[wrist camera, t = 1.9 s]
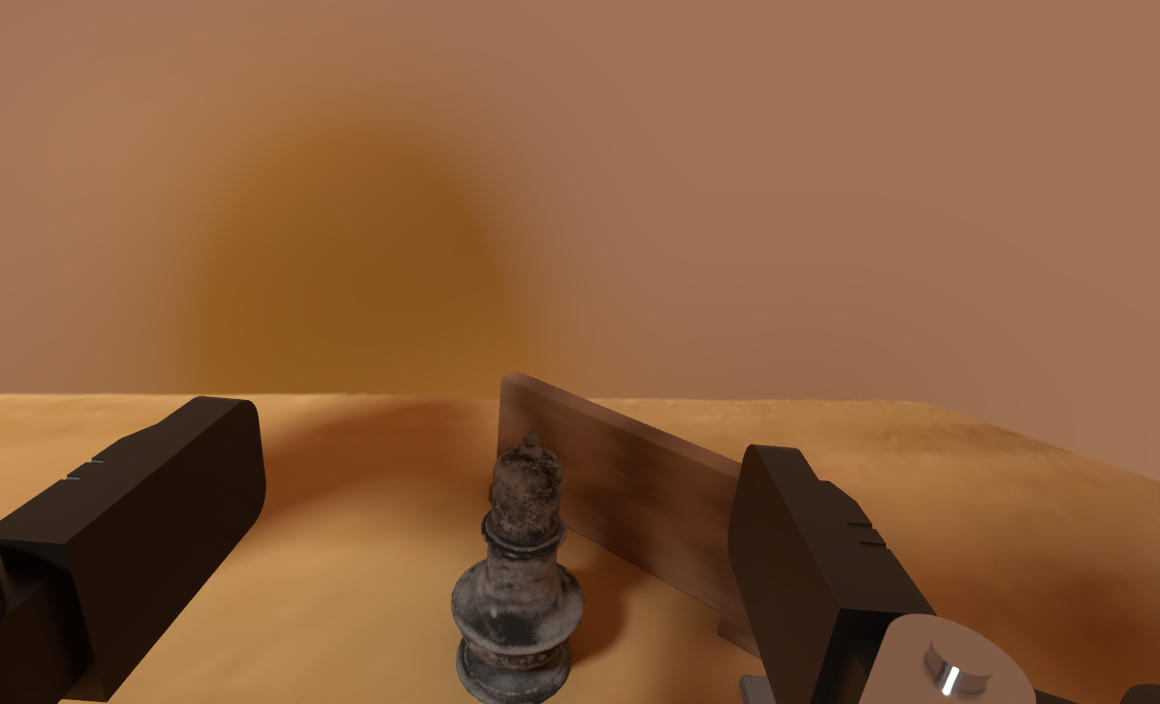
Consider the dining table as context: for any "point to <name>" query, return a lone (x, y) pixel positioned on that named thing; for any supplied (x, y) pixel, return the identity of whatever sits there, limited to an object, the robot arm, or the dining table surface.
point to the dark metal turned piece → (519, 586)
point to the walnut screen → (636, 492)
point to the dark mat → (756, 690)
